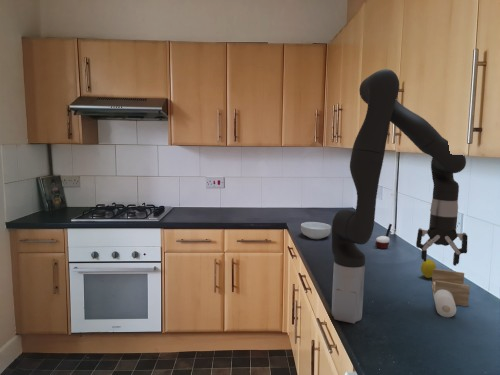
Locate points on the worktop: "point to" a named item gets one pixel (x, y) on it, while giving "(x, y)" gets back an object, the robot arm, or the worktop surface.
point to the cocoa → (383, 240)
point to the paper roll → (445, 303)
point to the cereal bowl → (315, 229)
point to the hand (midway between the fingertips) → (439, 262)
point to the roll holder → (451, 285)
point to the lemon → (428, 268)
